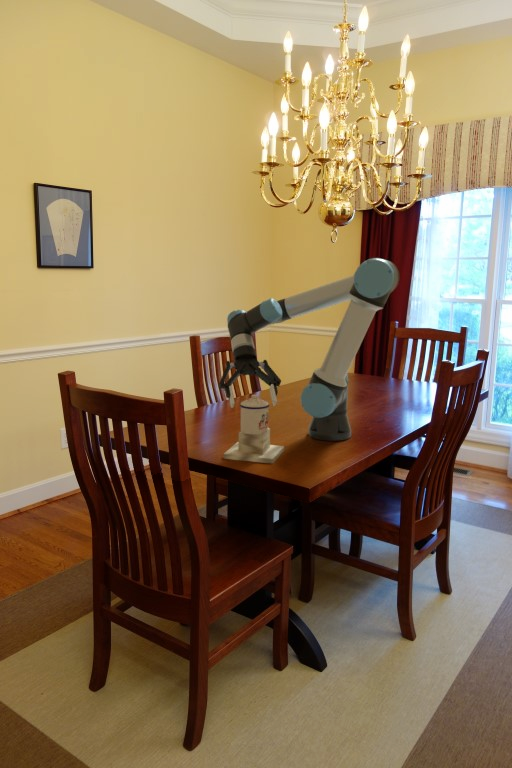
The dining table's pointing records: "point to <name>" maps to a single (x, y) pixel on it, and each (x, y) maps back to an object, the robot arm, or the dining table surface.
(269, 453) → the stone pedestal
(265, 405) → the teacup with lid
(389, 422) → the dining table surface
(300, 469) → the dining table surface
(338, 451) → the dining table surface
